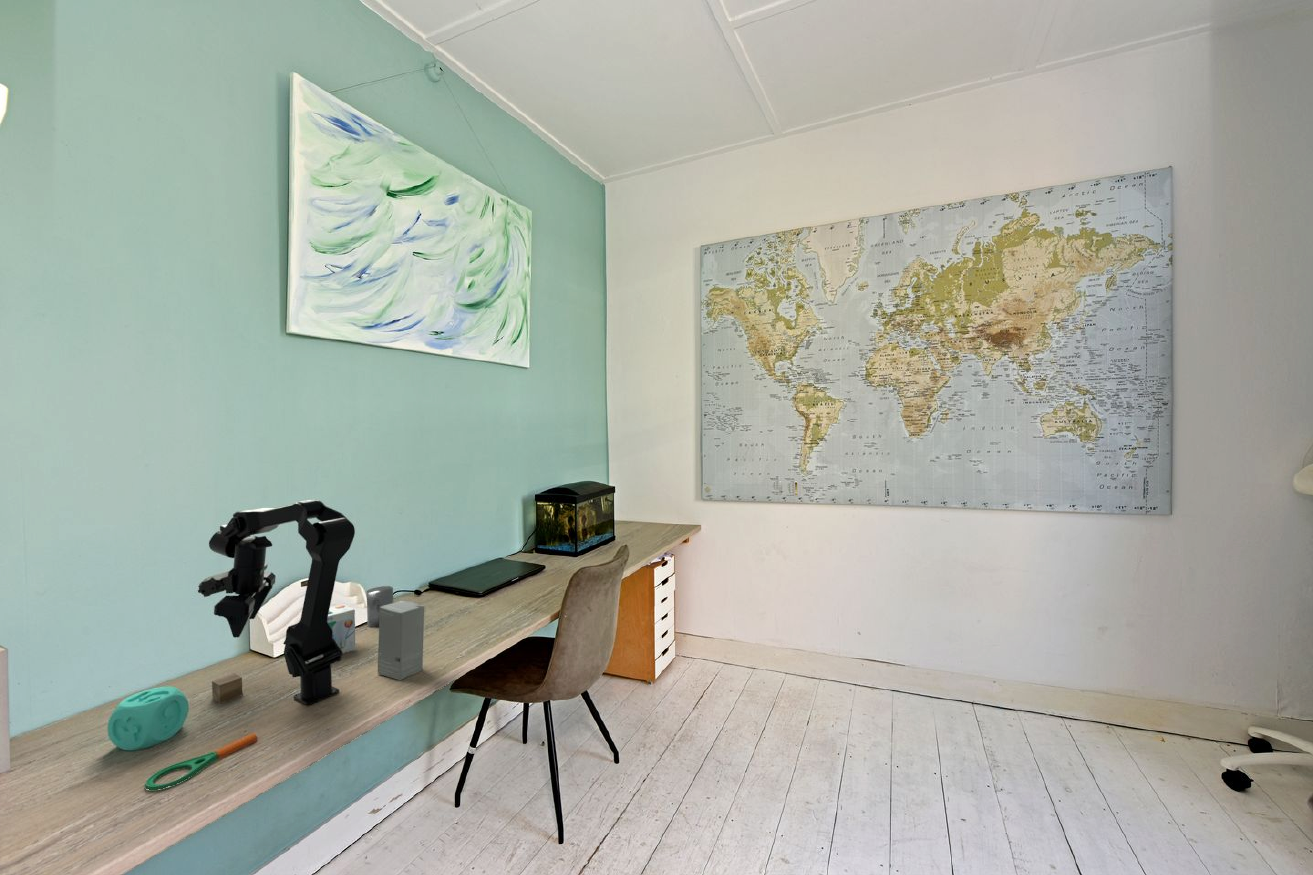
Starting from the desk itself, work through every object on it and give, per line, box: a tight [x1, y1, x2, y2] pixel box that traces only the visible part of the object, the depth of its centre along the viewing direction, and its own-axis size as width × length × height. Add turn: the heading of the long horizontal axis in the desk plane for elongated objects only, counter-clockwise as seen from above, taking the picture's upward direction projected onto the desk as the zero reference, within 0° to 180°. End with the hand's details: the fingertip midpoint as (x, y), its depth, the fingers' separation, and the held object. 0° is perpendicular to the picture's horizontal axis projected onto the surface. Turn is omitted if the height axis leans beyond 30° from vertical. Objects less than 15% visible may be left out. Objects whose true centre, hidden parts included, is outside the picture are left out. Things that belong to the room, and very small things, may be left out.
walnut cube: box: [211, 673, 244, 704], centre depth 114 cm, size 4×4×4 cm
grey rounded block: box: [366, 585, 394, 628], centre depth 156 cm, size 7×7×10 cm
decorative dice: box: [107, 686, 190, 751], centre depth 99 cm, size 8×8×8 cm
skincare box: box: [377, 600, 425, 681], centre depth 124 cm, size 8×7×16 cm
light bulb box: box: [307, 604, 356, 663], centre depth 136 cm, size 11×7×11 cm, turn 143°
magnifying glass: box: [144, 732, 258, 790], centre depth 91 cm, size 15×6×2 cm, turn 151°
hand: (244, 627), depth 122 cm, fingers open, 9 cm apart
